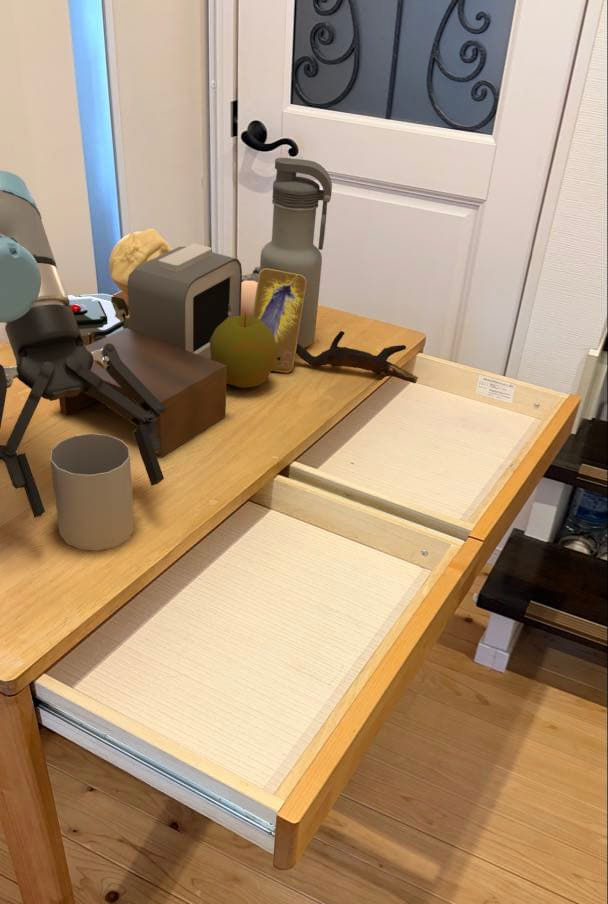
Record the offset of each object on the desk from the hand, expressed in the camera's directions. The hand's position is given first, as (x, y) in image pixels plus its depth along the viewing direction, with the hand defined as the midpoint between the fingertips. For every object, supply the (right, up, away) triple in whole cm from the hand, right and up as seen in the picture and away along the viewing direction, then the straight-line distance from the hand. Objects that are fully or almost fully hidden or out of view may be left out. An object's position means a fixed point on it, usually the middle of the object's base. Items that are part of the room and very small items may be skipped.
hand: (101, 498), depth 90 cm
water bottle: (+19, +29, +48) cm, 60 cm away
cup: (-1, -3, +4) cm, 6 cm away
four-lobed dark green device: (-15, +30, +45) cm, 55 cm away
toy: (+30, +27, +41) cm, 57 cm away
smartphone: (+19, +37, +35) cm, 54 cm away
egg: (+12, +40, +53) cm, 67 cm away
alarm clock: (+3, +26, +42) cm, 50 cm away
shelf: (0, +13, +25) cm, 28 cm away
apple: (+13, +19, +35) cm, 42 cm away
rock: (+18, +38, +61) cm, 74 cm away
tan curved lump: (-3, +41, +57) cm, 71 cm away
